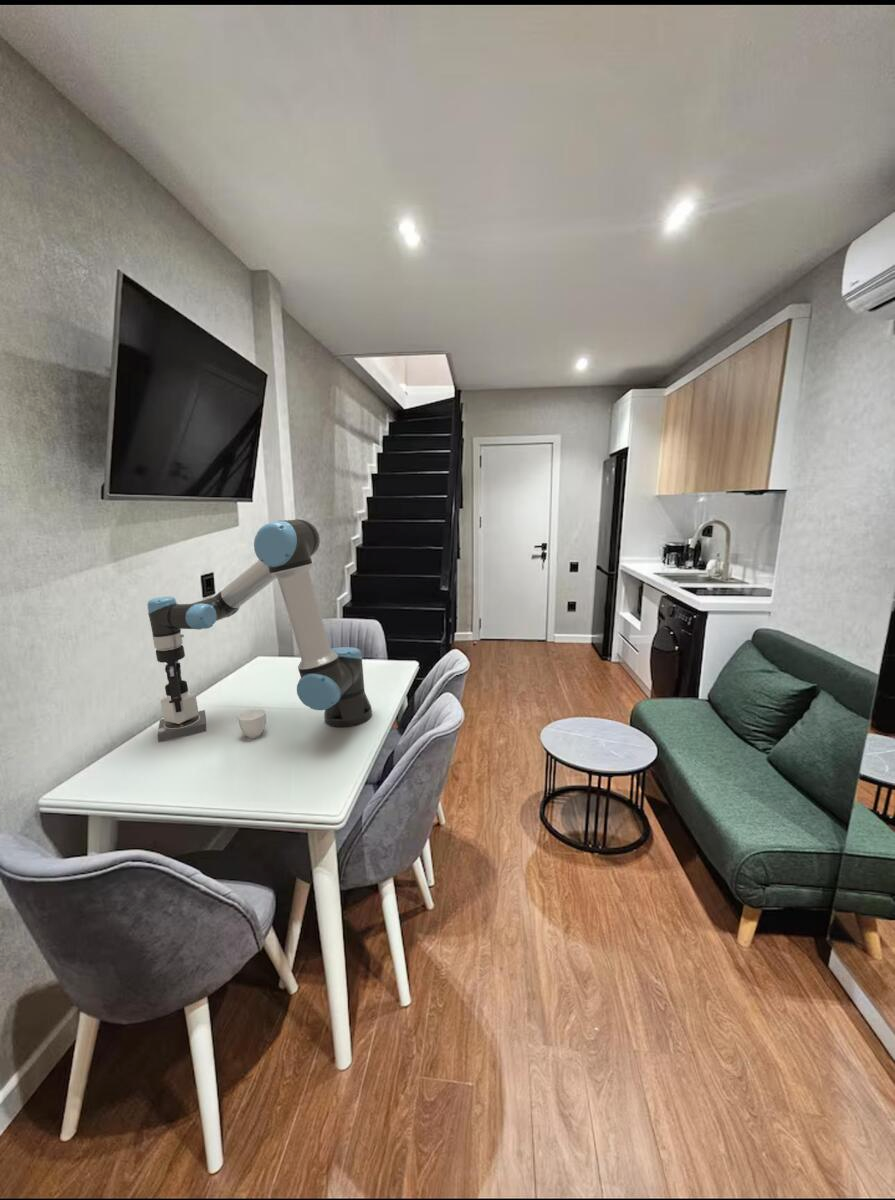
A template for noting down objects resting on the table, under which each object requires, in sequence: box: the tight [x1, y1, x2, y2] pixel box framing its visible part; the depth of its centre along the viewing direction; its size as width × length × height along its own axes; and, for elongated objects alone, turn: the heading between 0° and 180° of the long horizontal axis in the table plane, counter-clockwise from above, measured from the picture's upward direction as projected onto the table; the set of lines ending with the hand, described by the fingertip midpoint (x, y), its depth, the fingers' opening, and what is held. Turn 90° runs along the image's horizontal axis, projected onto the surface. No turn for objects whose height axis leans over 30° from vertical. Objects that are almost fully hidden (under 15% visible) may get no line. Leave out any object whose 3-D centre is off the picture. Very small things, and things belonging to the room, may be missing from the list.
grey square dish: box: [156, 709, 207, 743], centre depth 151 cm, size 12×13×3 cm
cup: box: [237, 708, 267, 739], centre depth 145 cm, size 8×10×7 cm
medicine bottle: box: [160, 680, 199, 724], centre depth 149 cm, size 7×7×12 cm
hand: (181, 714), depth 150 cm, fingers closed on medicine bottle, 10 cm apart
